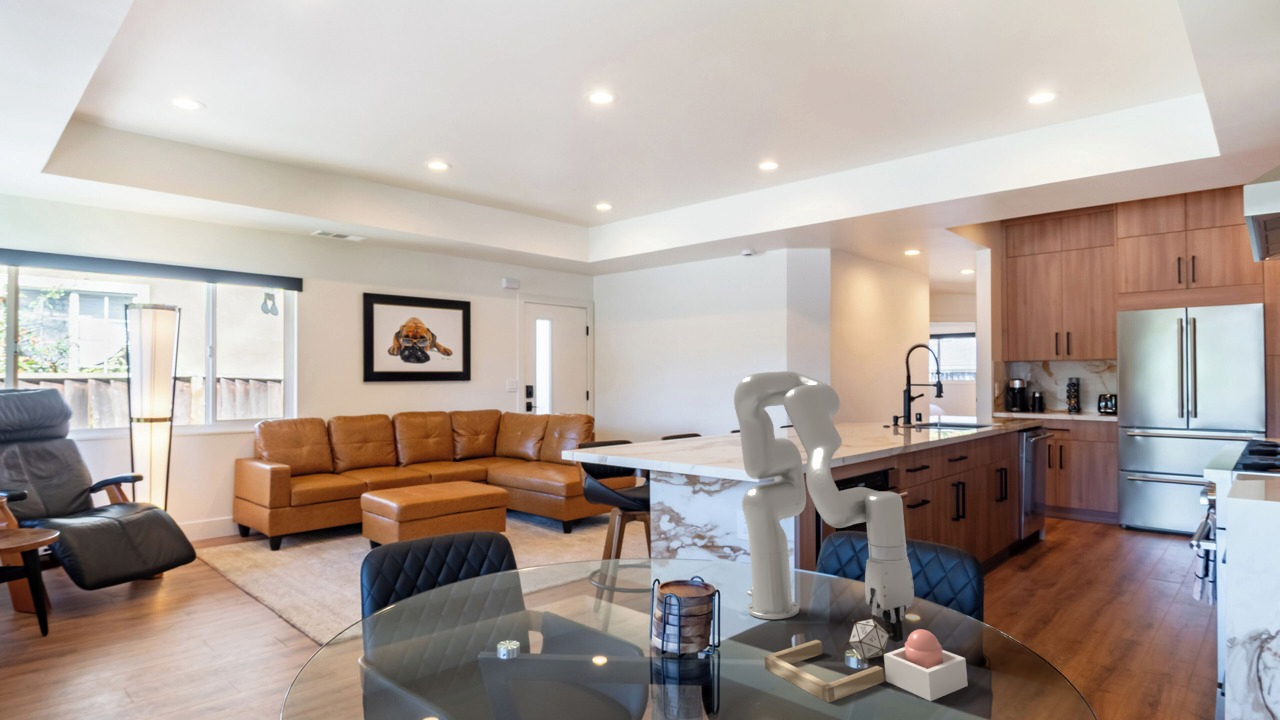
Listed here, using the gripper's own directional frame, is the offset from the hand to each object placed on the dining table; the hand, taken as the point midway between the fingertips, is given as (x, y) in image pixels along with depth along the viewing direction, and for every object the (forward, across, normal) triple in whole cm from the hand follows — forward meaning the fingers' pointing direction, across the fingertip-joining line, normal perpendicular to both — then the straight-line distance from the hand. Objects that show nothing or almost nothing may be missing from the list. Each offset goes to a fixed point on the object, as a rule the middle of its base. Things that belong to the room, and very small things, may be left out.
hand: (894, 639), depth 142 cm
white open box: (+2, +8, +14) cm, 16 cm away
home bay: (+2, +20, 0) cm, 20 cm away
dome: (-2, +8, +14) cm, 16 cm away
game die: (+2, +7, 0) cm, 8 cm away
